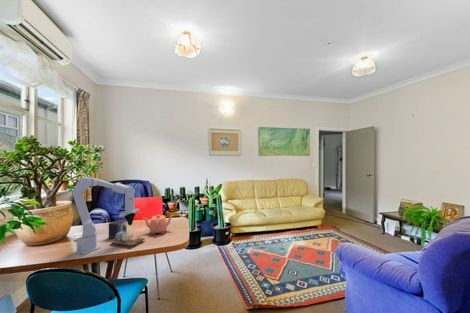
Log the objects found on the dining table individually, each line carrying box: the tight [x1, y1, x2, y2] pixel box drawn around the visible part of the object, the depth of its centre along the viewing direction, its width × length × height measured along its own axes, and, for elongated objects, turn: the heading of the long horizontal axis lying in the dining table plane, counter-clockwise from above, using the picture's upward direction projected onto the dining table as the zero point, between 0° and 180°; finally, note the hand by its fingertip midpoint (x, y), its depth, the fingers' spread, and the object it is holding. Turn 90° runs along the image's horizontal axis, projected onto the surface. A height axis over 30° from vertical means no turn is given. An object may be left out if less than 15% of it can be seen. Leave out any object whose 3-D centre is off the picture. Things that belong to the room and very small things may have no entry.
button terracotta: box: [128, 236, 140, 245], centre depth 134 cm, size 4×4×4 cm
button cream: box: [122, 231, 134, 241], centre depth 136 cm, size 4×4×4 cm
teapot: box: [142, 214, 174, 236], centre depth 155 cm, size 15×17×13 cm
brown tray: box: [109, 236, 146, 250], centre depth 136 cm, size 11×18×2 cm, turn 69°
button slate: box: [116, 231, 128, 240], centre depth 138 cm, size 4×4×4 cm
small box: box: [108, 219, 128, 240], centre depth 148 cm, size 11×6×10 cm, turn 168°
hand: (130, 224), depth 140 cm, fingers closed
